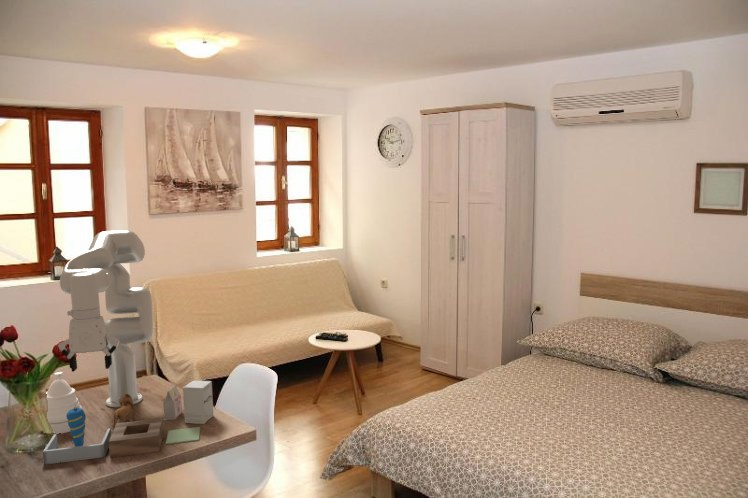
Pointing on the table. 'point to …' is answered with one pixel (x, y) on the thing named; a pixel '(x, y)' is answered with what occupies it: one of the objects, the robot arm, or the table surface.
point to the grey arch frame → (75, 451)
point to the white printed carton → (172, 404)
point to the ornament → (77, 425)
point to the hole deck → (136, 437)
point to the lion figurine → (123, 409)
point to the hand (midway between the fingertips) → (91, 368)
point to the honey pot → (60, 404)
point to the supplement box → (198, 402)
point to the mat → (183, 435)
